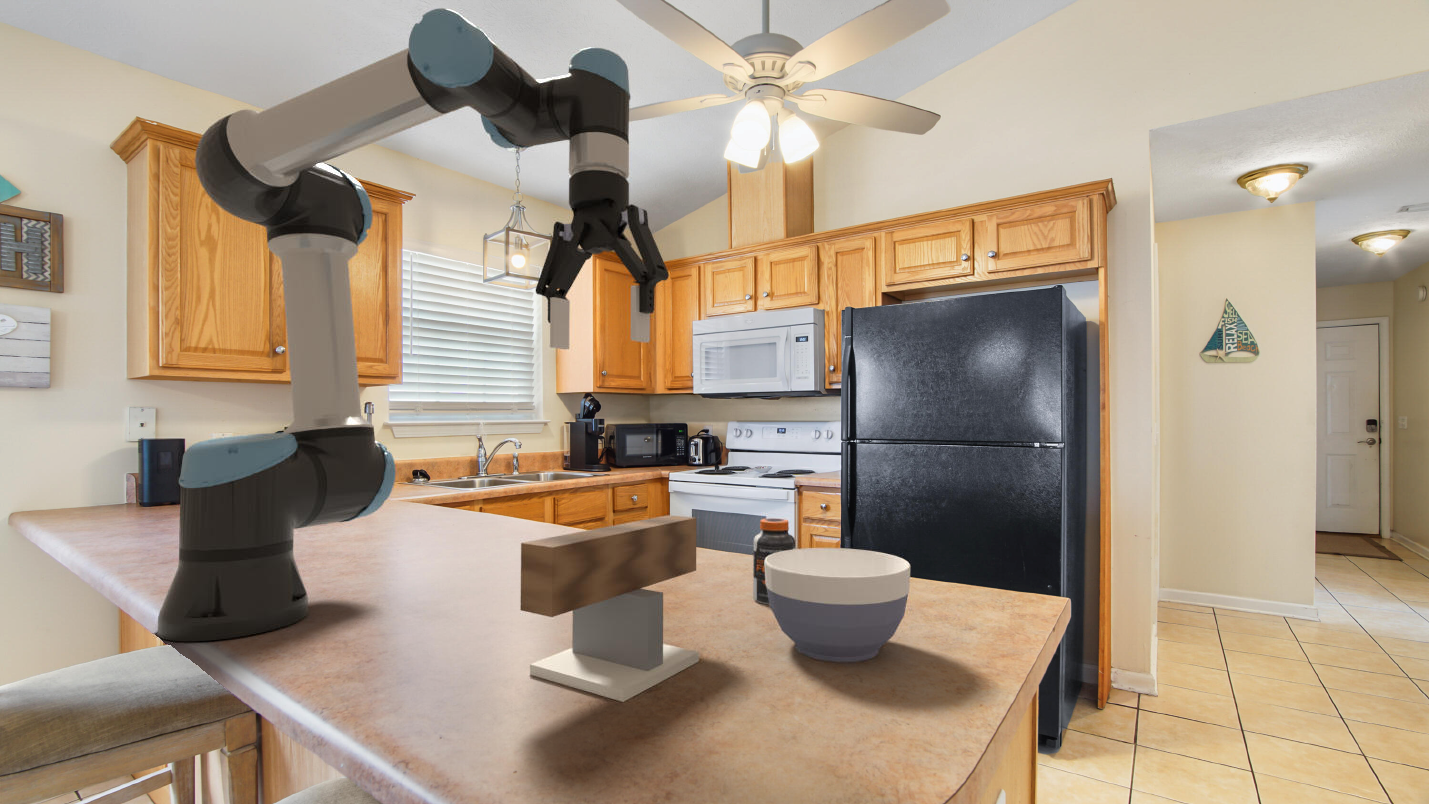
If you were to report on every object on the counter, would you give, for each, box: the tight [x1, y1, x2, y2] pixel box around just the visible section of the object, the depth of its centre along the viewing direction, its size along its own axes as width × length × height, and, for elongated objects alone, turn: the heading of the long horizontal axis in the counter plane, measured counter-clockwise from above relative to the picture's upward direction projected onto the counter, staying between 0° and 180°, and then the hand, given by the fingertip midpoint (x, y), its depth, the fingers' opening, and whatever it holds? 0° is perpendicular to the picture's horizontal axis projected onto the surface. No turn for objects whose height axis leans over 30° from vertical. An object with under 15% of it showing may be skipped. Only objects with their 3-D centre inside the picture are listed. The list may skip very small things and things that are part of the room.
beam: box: [519, 514, 697, 618], centre depth 68 cm, size 22×4×6 cm, turn 147°
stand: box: [529, 588, 700, 703], centre depth 67 cm, size 12×12×8 cm
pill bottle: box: [752, 517, 796, 605], centre depth 93 cm, size 6×6×11 cm
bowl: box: [764, 547, 911, 663], centre depth 73 cm, size 16×16×10 cm
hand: (598, 345), depth 83 cm, fingers open, 13 cm apart
